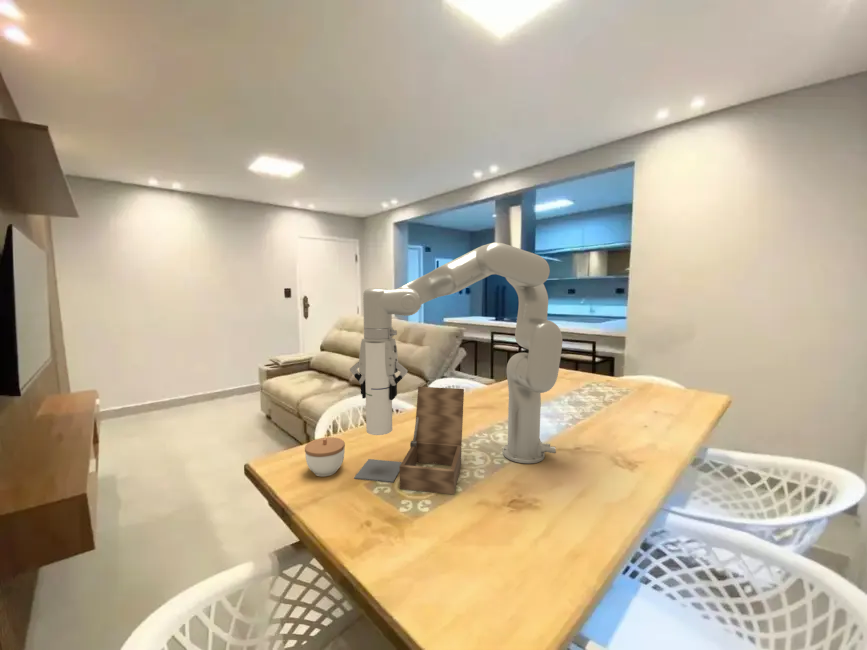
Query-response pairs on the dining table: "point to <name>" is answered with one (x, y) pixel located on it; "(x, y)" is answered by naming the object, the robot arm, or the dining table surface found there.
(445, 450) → the case
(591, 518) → the dining table surface
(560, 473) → the dining table surface
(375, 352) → the cylindrical container
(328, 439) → the lidded jar
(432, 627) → the dining table surface
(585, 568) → the dining table surface
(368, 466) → the mat
